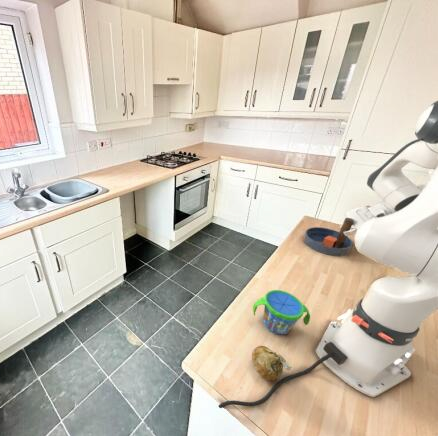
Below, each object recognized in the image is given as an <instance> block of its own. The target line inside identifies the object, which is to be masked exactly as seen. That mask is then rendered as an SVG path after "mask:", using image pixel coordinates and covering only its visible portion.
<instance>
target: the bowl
mask: <svg viewBox="0 0 438 436" xmlns="http://www.w3.org/2000/svg"><path fill="white" fill-rule="evenodd" d="M339 232H340V231H337V230H335V229H331V228H326V227H320V226H315V227H309V228H307V229H306V230H305V232H304V235H303V237H302V240H303V243H304V244H305V245H306V247H308V248H309V249H311V250H313V251H315V252H316V253H320V254H323V255H326V256H331V257H343V256H346V255H349V254H350V253H351V250H352V248H353V246H354V241H353V240H352V239H351V238H350V237H348V236H347V238H346V240H345V243H344V245H343V247H342V248H336V247H334V248H333V247H328V246H325V245H322V243H323V241H324V238H325V237H327V236H329V235H330V236H332V237H334V238H337V237H338V235H339Z"/></svg>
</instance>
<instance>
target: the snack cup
mask: <svg viewBox="0 0 438 436" xmlns="http://www.w3.org/2000/svg"><path fill="white" fill-rule="evenodd" d="M262 305H263V306H264V308H263V309H264V310H263V320H262V321H263V324H264V326H265V327H266V328H267V329H268V330H269V331H270V333H274V334H276V335H287V334H288V333H289V332H290V331H291V330H292V328H293V327H294V326H295V325H296V323H297V322H298V320H300V319H301V318H302V317H303V318H302V319H303V320H302V322H303V324H304V325H305V326H308V325H309V323H310V320H311V313H310V311H309V308H307V306H306V305H304V304H303V303H302V301H301V300H300V299H299V298H298V297H296V296H295V295H293V294H292V293H291V292H287V291H285V290H280V289H273V290H269V291H267V293H266V294H265V295H264V297H260V298H258V299H257V300H256V301H255V302H254V303H253V305H252V313H253V316H256V311H257V309H258V307H259V306H262ZM304 313H306V314H305V315H304Z"/></svg>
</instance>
